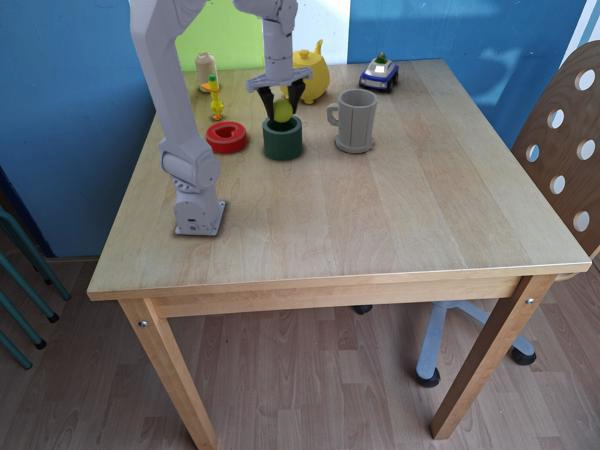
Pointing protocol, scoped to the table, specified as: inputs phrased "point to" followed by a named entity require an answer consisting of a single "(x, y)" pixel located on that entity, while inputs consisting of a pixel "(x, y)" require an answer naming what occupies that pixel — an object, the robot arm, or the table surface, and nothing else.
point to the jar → (282, 138)
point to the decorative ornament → (226, 129)
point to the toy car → (380, 74)
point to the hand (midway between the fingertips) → (281, 115)
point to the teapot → (320, 73)
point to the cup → (354, 119)
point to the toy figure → (214, 96)
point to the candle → (205, 68)
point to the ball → (282, 110)
